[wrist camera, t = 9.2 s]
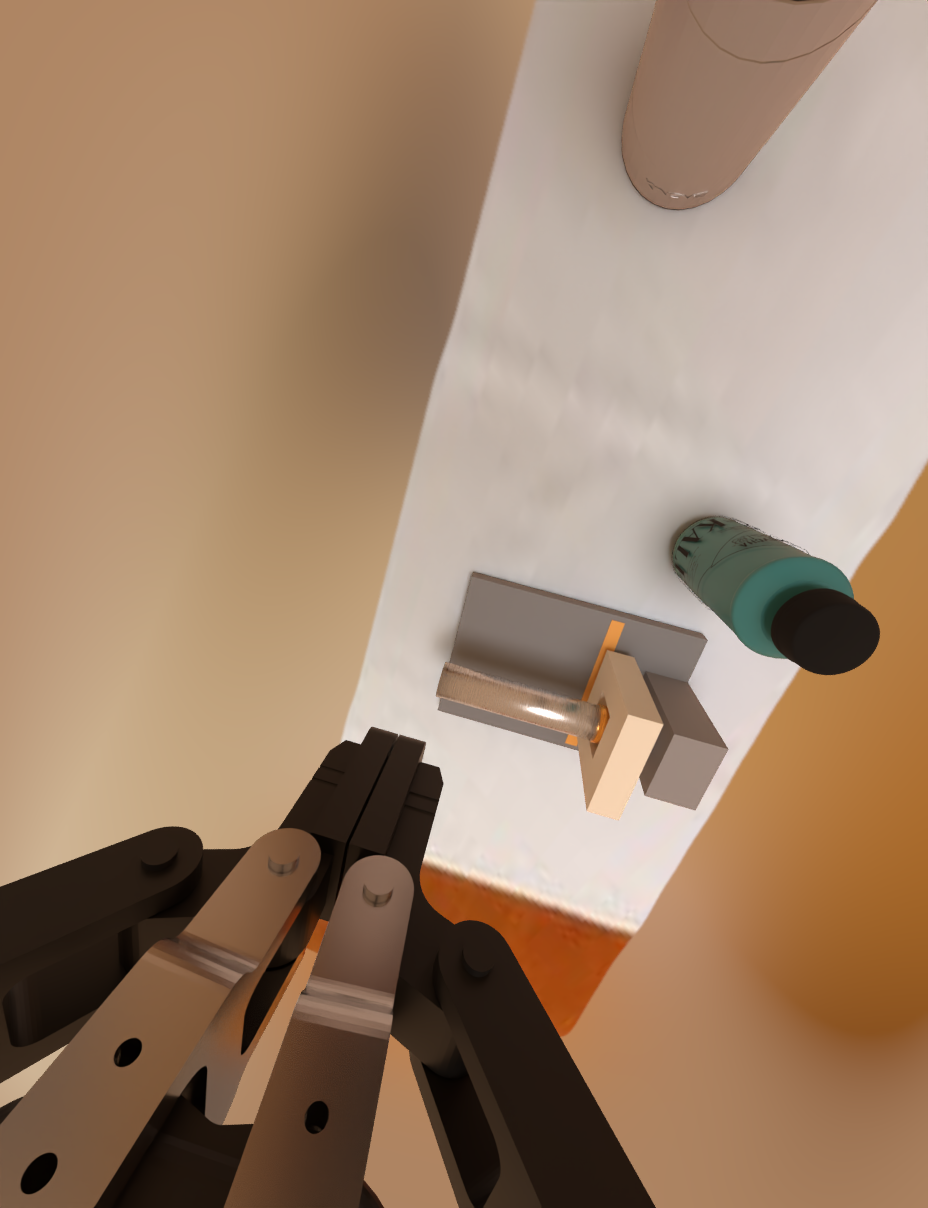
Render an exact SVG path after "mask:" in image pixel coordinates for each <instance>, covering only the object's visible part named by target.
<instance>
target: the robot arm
mask: <svg viewBox="0 0 928 1208" xmlns="http://www.w3.org/2000/svg"><path fill="white" fill-rule="evenodd" d="M877 1H878V0H656V4H655V8H654V11H653V15H652V19H651V22H650V26H649V30H648V33H647V37H646V40H645V44H644V48H643V51H642V55H641V59H640V62H639V66H638V69H637V72H636V76H635V80H634V84H633V87H632V91H631V95H630V99H629V102H628V106H627V110H626V114H625V117H624V122H623V131H622V153H623V159H624V163H625V167H626V171H627V173H628V175H629V177H630V179H631V181H632V183H633V185H634V186H635V187H636V189H637V190H638V191H639V192H640V193H641V195H642V196H644V197H645V198H646V199H648V200H649V201H651V202H652V203H654V204H656V205H659V206H662V207H664V208H670V209H686V208H692V207H696V206H699V205H701V204H704V203H706V202H709V201H711V200H712V199H714V198H715V197H717V196H718V195H720V194H721V193H723V192H724V191H725V190H726V189H727V188H728V187H730V186H731V185H732V184H733V183H734V182H735V181H736V180H737V179H738V177H739V176H740V175H741V174H742V172H743V171H744V170H745V169H746V167H747V166H748V165H749V164H750V162H751V161H752V160H753V158H754V157H755V156H756V155H757V153H758V152H759V151H760V150H761V148H762V147H763V146H764V145H765V144H766V142H767V141H768V140H769V139H770V137H771V136H772V135H773V134H774V132H775V131H776V130H777V128H778V127H779V126H780V125H781V123H782V122H783V121H784V119H785V118H786V117H787V116H788V114H789V113H790V112H791V111H792V109H793V108H794V107H795V105H796V104H797V103H798V102H799V100H800V99H801V98H802V96H803V95H804V94H805V93H806V91H807V90H808V89H809V87H810V86H811V85H812V84H813V82H814V81H815V80H816V79H817V77H818V76H819V75H820V73H821V72H822V71H823V70H824V68H825V67H826V66H827V64H828V63H829V62H830V61H831V59H832V58H833V57H834V56H835V54H836V53H837V52H838V50H839V49H840V48H841V47H842V45H843V44H844V43H845V41H846V40H847V39H848V38H849V36H850V35H851V34H852V32H853V31H854V30H855V29H856V27H857V26H858V25H859V24H860V22H861V21H862V20H863V18H864V17H865V16H866V15H867V13H868V12H869V11H870V9H871V8H872V7H873V6H874V4H875V3H876V2H877ZM425 746H426V742H423V741H420V740H417V739H413V738H410V737H406V736H403V735H399V737H398V734H396V733H392V732H389V731H385V730H382V729H378V728H375V727H371V728H370V729H369V731H368V733H367V735H366V736H365V738H364V740H363V742H362V743H361V744H357V743H354V742H351V741H347V740H345V741H344V742H342V743H341V744H339V745H338V746H336V747H335V748H333V749H332V750H330V751H329V753H328V755H327V756H326V758H325V759H324V761H323V762H322V764H321V765H320V768H318V770H317V771H316V773H315V774H314V776H313V778H312V780H311V781H310V782H309V783H308V785H307V787H306V788H305V790H304V791H303V793H302V794H301V796H300V797H299V799H298V800H297V802H296V803H295V805H294V806H293V808H292V809H291V811H290V812H289V814H288V815H287V817H286V818H285V820H284V821H283V823H282V824H281V826H280V827H279V828H278V830H274V831H271V832H269V833H267V834H265V835H263V836H262V837H261V838H259V839H258V840H257V841H256V842H255V843H254V844H253V845H252V846H250V847H246V848H241V849H204V850H203V844H202V841H201V839H200V838H199V836H198V835H196V833H195V832H193V831H191V830H189V829H187V828H183V827H163V828H158V829H155V830H151V831H149V832H146V833H143V834H141V835H138V836H135V837H132V838H130V839H127V840H124V841H122V842H119V843H116V844H114V845H111V846H108V847H106V848H103V849H100V850H98V851H95V852H92V853H90V854H87V855H84V856H82V857H79V858H77V859H74V860H71V861H68V862H66V863H63V864H60V865H57V866H55V867H52V868H49V869H47V870H44V871H42V872H39V873H36V874H34V875H31V876H28V877H25V878H23V879H20V880H18V881H15V882H12V883H9V884H7V885H4V886H1V887H0V1083H2V1082H3V1081H5V1080H7V1079H9V1078H10V1077H12V1076H14V1075H15V1074H17V1073H19V1072H21V1071H22V1070H24V1069H26V1068H27V1067H29V1066H31V1065H33V1064H34V1063H36V1062H38V1061H40V1060H41V1059H43V1058H45V1057H46V1056H48V1055H50V1054H52V1053H53V1052H55V1051H57V1050H58V1049H60V1048H62V1047H64V1046H65V1045H67V1044H68V1045H67V1046H66V1047H65V1049H64V1050H63V1051H62V1052H61V1053H60V1055H59V1056H58V1057H57V1058H56V1059H55V1060H54V1062H53V1063H52V1064H51V1065H50V1066H49V1068H48V1069H47V1070H46V1071H45V1072H44V1074H43V1075H42V1076H41V1077H40V1078H39V1079H38V1081H37V1082H36V1083H35V1084H34V1085H33V1087H32V1088H31V1089H30V1090H29V1091H28V1092H27V1094H26V1095H25V1096H24V1097H21V1098H19V1099H16V1100H14V1101H12V1102H10V1103H8V1104H6V1105H5V1106H3V1107H1V1108H0V1208H384V1207H383V1205H382V1204H381V1202H380V1200H379V1199H378V1197H377V1196H376V1194H375V1193H374V1192H373V1190H372V1189H371V1188H370V1187H369V1186H368V1184H367V1183H366V1182H365V1181H364V1175H365V1170H366V1164H367V1158H368V1153H369V1148H370V1142H371V1137H372V1131H373V1126H374V1119H375V1115H376V1109H377V1103H378V1098H379V1092H380V1087H381V1081H382V1076H383V1070H384V1065H385V1060H386V1054H387V1048H388V1043H389V1037H390V1034H391V1035H392V1036H393V1037H394V1038H395V1039H397V1040H398V1041H399V1042H400V1043H401V1044H402V1045H403V1046H404V1047H406V1048H407V1049H408V1050H409V1054H410V1061H411V1064H412V1068H413V1071H414V1074H415V1077H416V1080H417V1083H418V1086H419V1088H420V1092H421V1095H422V1098H423V1101H424V1104H425V1107H426V1110H427V1113H428V1116H429V1119H430V1122H431V1125H432V1128H433V1131H434V1134H435V1137H436V1140H437V1143H438V1146H439V1149H440V1152H441V1155H442V1158H443V1161H444V1164H445V1167H446V1170H447V1173H448V1176H449V1179H450V1182H451V1185H452V1188H453V1191H454V1194H455V1197H456V1200H457V1203H458V1206H459V1208H656V1207H655V1205H654V1204H653V1202H652V1200H651V1198H650V1196H649V1195H648V1193H647V1191H646V1189H645V1188H644V1186H643V1184H642V1182H641V1180H640V1179H639V1177H638V1175H637V1173H636V1172H635V1170H634V1168H633V1166H632V1164H631V1163H630V1161H629V1159H628V1157H627V1156H626V1154H625V1152H624V1150H623V1148H622V1147H621V1145H620V1143H619V1141H618V1139H617V1138H616V1136H615V1134H614V1132H613V1130H612V1129H611V1127H610V1125H609V1123H608V1122H607V1120H606V1118H605V1117H604V1115H603V1113H602V1111H601V1109H600V1107H599V1106H598V1104H597V1102H596V1100H595V1098H594V1097H593V1095H592V1093H591V1091H590V1089H589V1088H588V1086H587V1084H586V1083H585V1081H584V1079H583V1077H582V1075H581V1074H580V1072H579V1070H578V1068H577V1066H576V1065H575V1063H574V1061H573V1059H572V1058H571V1056H570V1054H569V1052H568V1051H567V1048H566V1047H565V1045H564V1043H563V1041H562V1040H561V1038H560V1036H559V1034H558V1032H557V1031H556V1029H555V1027H554V1025H553V1024H552V1022H551V1020H550V1018H549V1016H548V1015H547V1013H546V1011H545V1009H544V1007H543V1006H542V1004H541V1002H540V1000H539V999H538V997H537V995H536V993H535V991H534V990H533V988H532V986H531V984H530V983H529V981H528V979H527V977H526V975H525V974H524V972H523V970H522V968H521V966H520V965H519V963H518V961H517V959H516V958H515V956H514V954H513V952H512V950H511V949H510V947H509V945H508V944H507V942H506V940H505V939H504V938H503V937H502V935H501V934H500V933H499V932H498V931H496V930H495V929H494V928H492V927H491V926H489V925H487V924H485V923H483V922H479V921H473V920H468V921H462V922H459V923H457V924H455V925H454V924H453V923H451V922H450V921H449V920H447V919H446V918H445V917H443V916H442V915H440V914H439V913H438V912H437V911H435V910H434V909H433V908H432V906H431V905H430V904H429V903H428V901H427V900H426V898H425V896H424V894H423V892H422V889H421V886H420V869H421V865H422V861H423V858H424V854H425V850H426V847H427V843H428V839H429V836H430V832H431V828H432V824H433V821H434V817H435V813H436V810H437V806H438V802H439V798H440V795H441V791H442V787H443V780H442V776H441V772H440V768H439V767H436V766H433V765H429V764H426V763H422V758H423V754H424V750H425ZM319 919H322V920H326V921H329V923H328V926H327V929H326V931H325V934H324V937H323V940H322V943H321V946H320V949H319V952H318V955H317V958H316V960H315V963H314V966H313V969H312V972H311V975H310V978H309V980H308V983H307V986H306V988H305V990H303V991H302V992H301V994H300V996H299V999H298V1001H297V1003H296V1006H295V1009H294V1011H293V1014H292V1017H291V1020H290V1022H289V1025H288V1028H287V1031H286V1034H285V1036H284V1039H283V1042H282V1045H281V1048H280V1051H279V1053H278V1056H277V1059H276V1062H275V1065H274V1068H273V1070H272V1073H271V1076H270V1079H269V1082H268V1085H267V1088H266V1090H265V1093H264V1096H263V1099H262V1101H261V1104H260V1107H259V1110H258V1113H257V1116H256V1118H255V1121H254V1124H243V1125H242V1124H241V1125H222V1124H223V1122H224V1120H225V1118H226V1116H227V1113H228V1111H229V1109H230V1107H231V1104H232V1102H233V1099H234V1097H235V1094H236V1091H237V1088H238V1085H239V1082H240V1080H241V1077H242V1074H243V1072H244V1070H245V1068H246V1065H247V1063H248V1061H249V1059H250V1057H251V1055H252V1053H253V1051H254V1049H255V1048H256V1046H257V1044H258V1042H259V1040H260V1038H261V1036H262V1034H263V1033H264V1031H265V1029H266V1027H267V1025H268V1023H269V1021H270V1019H271V1017H272V1015H273V1014H274V1012H275V1010H276V1008H277V1006H278V1004H279V1002H280V1000H281V999H282V997H283V994H284V993H285V991H286V989H287V987H288V985H289V983H290V982H291V980H292V978H293V976H294V974H295V972H296V970H297V968H298V966H299V964H300V962H301V961H302V959H303V956H304V954H305V950H306V946H307V944H308V942H309V940H310V938H311V936H312V933H313V931H314V929H315V927H316V925H317V922H318V920H319Z"/></svg>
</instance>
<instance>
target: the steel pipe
mask: <svg viewBox="0 0 928 1208" xmlns="http://www.w3.org/2000/svg"><path fill="white" fill-rule="evenodd" d="M436 697H440V698H443V699H447V700H450V701H454V702H457V703H461V704H464V705H468V706H471V707H475V708H478V709H482V710H485V711H489V712H492V713H496V714H499V715H503V716H506V717H510V718H513V719H517V720H520V721H524V722H527V723H531V724H534V725H538V726H541V727H545V728H548V729H552V730H555V731H559V732H562V733H566V734H569V735H573V736H576V737H580V738H583V739H587V740H589V741H590V742H593V743H596V744H599V742H600V740H601V738H602V735H603V733H604V730H605V728H606V725H607V723H608V721H609V718H610V715H609V712H608V708H607V706H604V705H601V704H598V705H596V704H593V703H589V702H586V701H582V700H579V699H575V698H572V697H568V696H564V695H561V694H557V693H554V692H550V691H547V690H543V689H540V688H536V687H533V686H529V685H525V684H522V683H518V682H515V681H511V680H508V679H504V678H501V677H497V676H493V675H490V674H486V673H483V672H479V671H476V670H472V669H469V668H465V667H462V666H458V665H454V664H451V663H447V662H445V665H444V667H443V670H442V674H441V677H440V681H439V684H438V688H437V692H436ZM655 743H656V742H655ZM654 746H655V744H654ZM654 746H653V748H652V751H653V749H654ZM652 751H651V752H652ZM650 754H651V753H650Z"/></svg>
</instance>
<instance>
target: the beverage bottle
mask: <svg viewBox="0 0 928 1208" xmlns="http://www.w3.org/2000/svg"><path fill="white" fill-rule="evenodd" d="M711 517H712V516H711ZM728 518H729V517H728ZM733 519H734V518H733ZM735 520H736V519H734V520H731V518H730V519H727V518H721V517H714V518H713V517H712V518H708V517H707V519H704V520H702V519H701V521H698V522H696V523H693V525H690V526H689V528H687V529H686V530H685V531H683V533H682V534H681V535H680V536H679V539H677V541H676V543H675V544H676V545H674V546H675V547H674V548H673V549H674V551H673V552H672V553H673V564H674V565H672V566H674V568H675V569H673V570H675V571H676V572H675V573H677V575H678V576H679V578H681V579H682V580H683V581H684V583H685V584H686V585H687V586H688V587H689V588H688V589H691V590H692V592H693V594H696V595H697V596H698V597H697V598H699V599H701V600H702V601H703V602H704V603H705V604H706V605H707V606H708V607H709V608H711V609H712V611H713V612H714V613H715V614H716V615H717V616H718V617H719V618H720V619H721V620H722V621H723V622H724V623H725V624H726V625H727V626H728V627H729V628H730V629H731V630H732V631H733V632H734V633H735V634H736V635H737V637H738V638H739V640H740V641H741V642H742V643H743V644H744V645H745V646H747V647H748V648H749V649H751V650H752V651H754V652H756V653H758V654H761V655H764V656H767V657H772V658H780V659H789V660H791V661H792V662H795V663H796V664H798V665H799V666H800V667H802V668H804V669H805V670H808V671H810V672H813V673H816V674H821V675H836V674H841V673H845V672H847V671H850V670H852V669H855V668H856V667H858V666H860V665H861V664H863V663H864V662H865V661H866V660H867V659H868V658H869V657H870V656H871V655H872V654H873V652H874V651H875V649H876V647H877V645H878V642H879V638H880V629H879V625H878V623H877V621H876V619H875V617H874V616H873V615H872V614H871V612H870V611H868V610H867V609H866V608H864V607H863V606H861V605H860V604H858V602H856V601H855V600H854V595H853V590H852V587H851V585H850V582H849V581H848V579H847V577H846V576H845V575H844V574H843V572H842V571H841V570H839V569H838V568H837V567H836V566H834V565H833V564H831V563H829V562H827V561H825V560H823V559H820V558H816V557H813V556H811V555H809V553H808V552H807V553H808V554H806V553H804V552H803V551H801V550H799V549H797V548H795V547H792V546H790V545H788V544H785V543H783V542H781V541H784V540H780V541H779V539H778V540H776V539H774V538H772V537H771V534H770V536H767V535H765V534H763V533H764V532H763V531H762V532H763V533H761V532H758V531H756V530H754V529H753V528H751V527H748V526H745V525H743V524H740V523H738V522H736V521H735ZM737 521H738V520H737ZM740 522H741V521H740ZM747 525H748V524H747ZM752 527H753V526H752ZM754 528H755V527H754ZM755 529H757V528H755ZM757 530H759V529H757ZM760 531H761V530H760ZM777 538H778V537H777ZM785 542H786V541H785ZM787 543H789V542H787ZM794 546H797V545H794ZM800 548H801V547H800ZM804 550H805V549H804ZM679 578H678V579H679ZM686 588H687V587H686ZM689 591H690V590H689ZM690 592H691V591H690ZM692 592H691V593H692ZM702 604H703V603H702ZM707 606H706V607H707ZM707 609H708V608H707Z"/></svg>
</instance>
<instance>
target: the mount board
mask: <svg viewBox="0 0 928 1208" xmlns="http://www.w3.org/2000/svg"><path fill="white" fill-rule="evenodd" d="M707 641H708V640H707V639H706V638H705V636H704V635H703V634H701V633H698V632H694V631H690V630H687V629H683V628H679V627H676V626H672V625H668V624H664V623H661V622H657V621H653V620H650V619H646V618H642V617H638V616H635V615H631V614H627V613H624V612H620V611H616V610H613V609H609V608H605V607H601V606H598V605H594V604H590V603H587V602H583V601H579V600H575V599H572V598H568V597H564V596H561V595H557V594H553V593H550V592H546V591H542V590H538V589H535V588H531V587H527V586H524V585H520V584H516V583H512V582H509V581H505V580H501V579H498V578H494V577H490V576H487V575H483V574H479V573H475V572H473V574H472V576H471V580H470V584H469V588H468V592H467V596H466V600H465V604H464V608H463V612H462V616H461V620H460V624H459V628H458V632H457V636H456V640H455V644H454V648H453V652H452V656H451V660H450V663H451V664H454V665H458V666H462V667H465V668H469V669H472V670H476V671H479V672H483V673H486V674H490V675H493V676H497V677H501V678H504V679H508V680H511V681H515V682H518V683H522V684H525V685H529V686H533V687H536V688H540V689H543V690H547V691H550V692H554V693H557V694H561V695H564V696H568V697H572V698H575V699H579V700H582V701H586V702H587V701H588V698H589V696H590V693H591V690H592V688H593V685H594V683H595V680H596V677H597V675H598V672H599V670H600V667H601V665H602V662H603V659H604V657H605V654H606V652H607V650H609V651H613V652H616V653H620V654H624V655H627V656H631V657H634V658H635V660H636V663H637V665H638V667H639V669H640V672H641V674H642V676H643V679H644V681H645V683H646V685H647V688H648V690H649V692H650V695H651V697H652V699H653V701H654V704H655V706H656V708H657V711H658V713H659V715H660V717H661V720H662V722H663V724H664V725H663V727H662V729H661V731H660V733H659V736H658V738H657V740H656V743H655V746H654V749H653V751H652V752H651V754H650V755H649V757H648V759H647V761H646V763H645V766H644V768H643V770H642V772H641V774H640V776H639V778H640V781H641V785H642V788H643V791H644V795H645V796H648V797H651V798H654V799H658V800H661V801H665V802H668V803H672V804H675V805H679V806H682V807H685V808H689V809H692V810H696V808H697V806H698V804H699V803H700V801H701V799H702V797H703V795H704V793H705V792H706V790H707V788H708V786H709V784H710V782H711V780H712V779H713V777H714V775H715V773H716V771H717V769H718V767H719V766H720V764H721V762H722V760H723V758H724V756H725V755H726V753H727V751H728V748H727V746H726V745H725V743H724V741H723V740H722V738H721V736H720V735H719V733H718V732H717V730H716V728H715V727H714V725H713V723H712V722H711V720H710V718H709V717H708V715H707V713H706V712H705V710H704V709H703V707H702V705H701V704H700V702H699V700H698V699H697V697H696V695H695V694H694V692H693V691H692V689H691V687H690V686H689V684H688V681H689V679H690V677H691V675H692V672H693V670H694V668H695V666H696V664H697V662H698V660H699V658H700V655H701V653H702V651H703V649H704V647H705V645H706V643H707ZM438 710H439V711H442V712H446V713H449V714H453V715H456V716H460V717H463V718H467V719H470V720H474V721H477V722H481V723H484V724H488V725H491V726H495V727H498V728H501V729H505V730H508V731H512V732H515V733H519V734H522V735H526V736H529V737H533V738H536V739H540V740H543V741H547V742H550V743H554V744H557V745H560V746H564V747H567V748H571V749H574V750H578V751H579V749H578V741H577V737H576V736H573V735H569V734H566V733H562V732H559V731H555V730H552V729H548V728H545V727H541V726H538V725H534V724H531V723H527V722H524V721H520V720H517V719H513V718H510V717H506V716H503V715H499V714H496V713H492V712H489V711H485V710H482V709H478V708H475V707H471V706H468V705H464V704H461V703H457V702H454V701H450V700H447V699H443V698H441V699H440V703H439V707H438Z"/></svg>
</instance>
